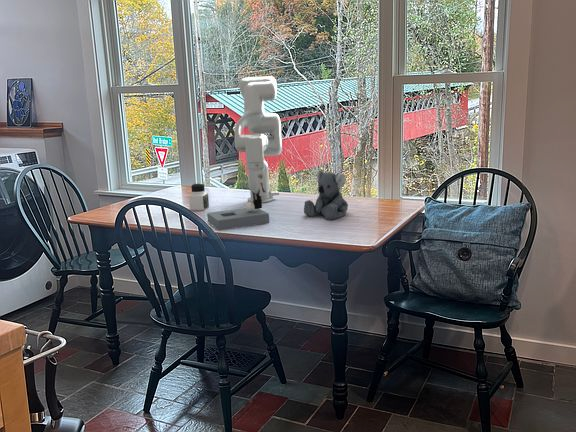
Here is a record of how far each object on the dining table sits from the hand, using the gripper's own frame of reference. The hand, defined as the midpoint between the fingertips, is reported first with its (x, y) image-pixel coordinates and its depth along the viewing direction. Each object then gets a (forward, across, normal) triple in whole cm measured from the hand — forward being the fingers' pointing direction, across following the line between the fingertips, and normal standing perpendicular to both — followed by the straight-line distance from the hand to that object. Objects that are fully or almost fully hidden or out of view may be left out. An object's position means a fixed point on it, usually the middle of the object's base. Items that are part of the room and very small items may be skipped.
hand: (257, 208), depth 245 cm
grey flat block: (+5, 0, +9) cm, 10 cm away
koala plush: (+5, -9, -30) cm, 32 cm away
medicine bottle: (+5, +36, +16) cm, 40 cm away
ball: (-1, 0, +4) cm, 4 cm away
